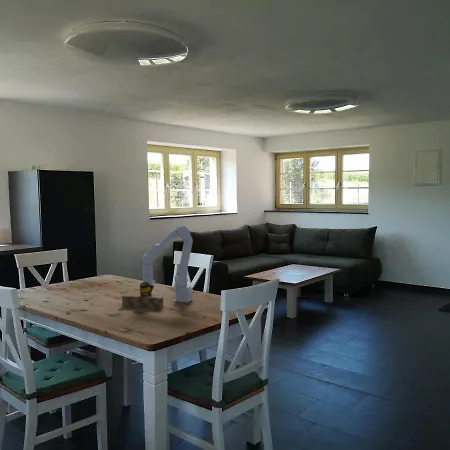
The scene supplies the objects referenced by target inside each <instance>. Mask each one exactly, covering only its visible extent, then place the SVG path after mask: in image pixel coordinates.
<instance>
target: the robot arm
mask: <svg viewBox="0 0 450 450" xmlns="http://www.w3.org/2000/svg"><path fill="white" fill-rule="evenodd" d="M190 231H191V230H189V228H187V226H185V225H182V224H178V225H177V226H175V228H172V230H171V231H170V232H168V233H167V235H165V237H163V239H162V240H161V241H160V242H159V243H155V244H152V246H151V247H150V249H149V250H148V251H146V253H145V254H143V255H142V256H141V262H142V281H141V282H140V284H141V283H144V282H147V283H149V286H150V288H151V294H152V292H153V290H154V287H155V286H154V285H155V284H156V279H154V272H153V268H154V267H153V262H154V259H156V258H158V256H159V255H160V254H162V252H164V251H163V250H164V249H163V248H164V247H166V245H167V244H168V243H170V242H171V241H172V240H173V239H177V238H180V239H181V240H182V242H183V245H182V251H181V254H180V255H181V256H180V259H179V260H180V262H179V266H178V269H177V270H176V274H175V276H174V282H175V284H174V298H175V299H173V300H172V302H175V303H189V302H190V301H192V300H193V289H192V286H189V285H188V281H189V280H188V269H189V263H190V262H189V261H190V257H191V252H192V246H193V237H192V235H191V232H190ZM153 284H154V285H153Z"/></svg>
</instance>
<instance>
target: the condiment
mask: <svg viewBox="0 0 450 450" xmlns="http://www.w3.org/2000/svg"><path fill="white" fill-rule="evenodd" d="M139 294H140V295H139V296H149V297H153V295H152V293H151V288H150V286H149V283H147V282H144V283H141V282H140V284H139Z"/></svg>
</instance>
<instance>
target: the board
mask: <svg viewBox="0 0 450 450" xmlns="http://www.w3.org/2000/svg"><path fill="white" fill-rule="evenodd" d="M121 297H122V298H121V301H122V302H121V303H122V304H121V305H122V307H123V308H124V307H125V308H136V309H137V308H141V309H151V310H152V309H154V310H163V309H164V297H163V296H162V297H161V296H152V297H149V296H141V295H132V294H131V295H129V294H123V295H121Z"/></svg>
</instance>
